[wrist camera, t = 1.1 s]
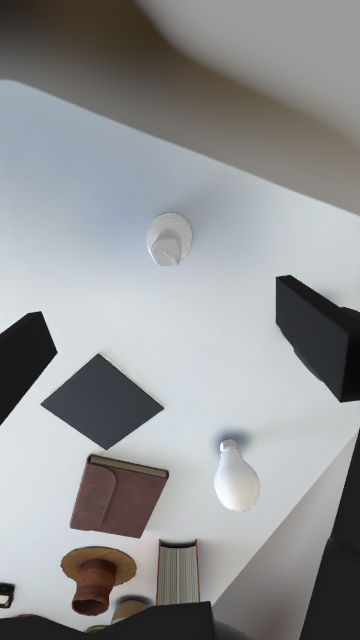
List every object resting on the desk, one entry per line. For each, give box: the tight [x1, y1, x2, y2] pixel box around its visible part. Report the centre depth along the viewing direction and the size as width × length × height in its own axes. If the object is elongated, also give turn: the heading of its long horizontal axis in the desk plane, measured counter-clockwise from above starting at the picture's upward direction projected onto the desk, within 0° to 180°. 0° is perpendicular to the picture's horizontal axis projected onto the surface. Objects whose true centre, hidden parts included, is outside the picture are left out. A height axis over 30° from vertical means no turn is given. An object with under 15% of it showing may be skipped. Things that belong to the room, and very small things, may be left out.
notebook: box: [70, 455, 169, 538], centre depth 51 cm, size 15×20×2 cm
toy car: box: [0, 586, 14, 608], centre depth 66 cm, size 10×4×3 cm, turn 162°
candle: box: [146, 213, 192, 267], centre depth 27 cm, size 5×5×12 cm
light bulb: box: [214, 439, 260, 512], centre depth 41 cm, size 7×7×11 cm
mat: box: [40, 354, 164, 450], centre depth 43 cm, size 14×14×1 cm
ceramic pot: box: [60, 547, 136, 616], centre depth 60 cm, size 18×18×7 cm
